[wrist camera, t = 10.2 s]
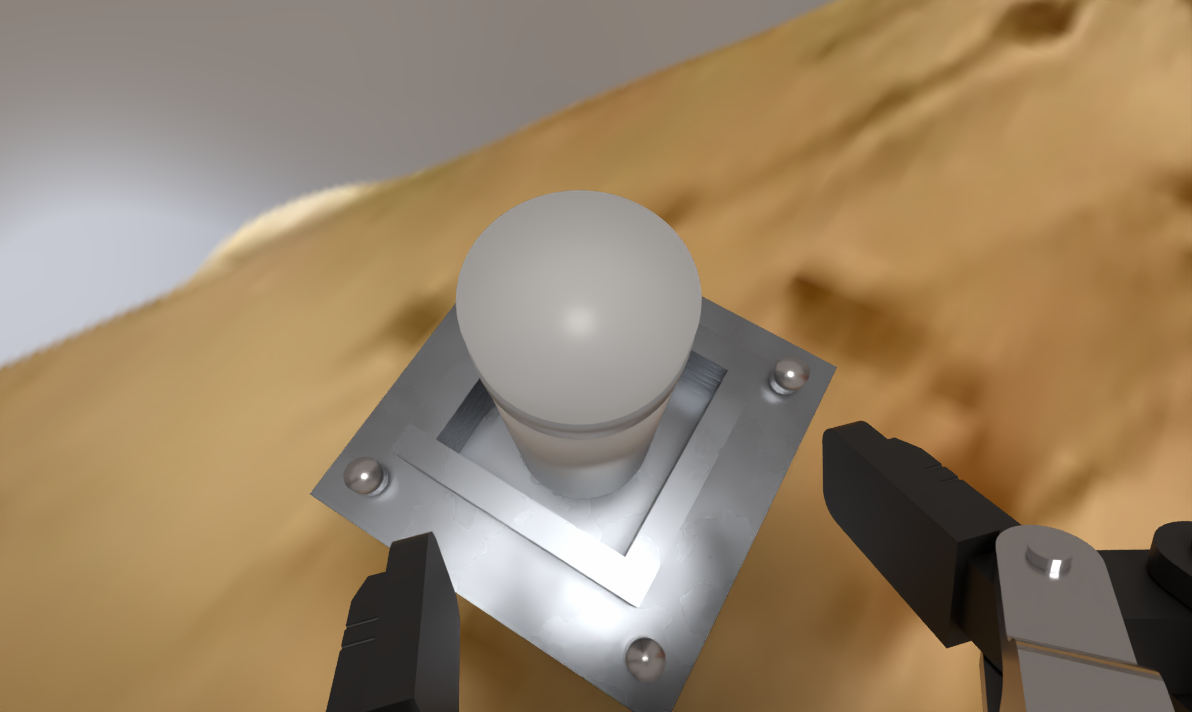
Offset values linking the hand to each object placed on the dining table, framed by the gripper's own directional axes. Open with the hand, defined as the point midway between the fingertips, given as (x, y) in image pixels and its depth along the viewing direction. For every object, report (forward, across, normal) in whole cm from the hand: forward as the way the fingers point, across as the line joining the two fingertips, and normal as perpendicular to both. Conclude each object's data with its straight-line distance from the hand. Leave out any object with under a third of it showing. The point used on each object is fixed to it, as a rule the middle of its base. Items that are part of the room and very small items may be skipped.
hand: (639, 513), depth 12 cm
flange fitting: (+10, 0, +4) cm, 11 cm away
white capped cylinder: (+9, 0, +4) cm, 10 cm away
